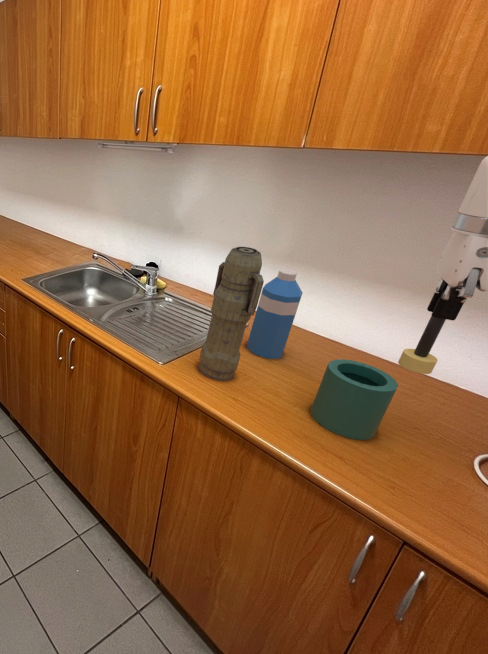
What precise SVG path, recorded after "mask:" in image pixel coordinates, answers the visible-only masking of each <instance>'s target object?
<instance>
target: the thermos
mask: <svg viewBox="0 0 488 654" xmlns="http://www.w3.org/2000/svg"><path fill="white" fill-rule="evenodd" d="M262 266H263V259H262V252H260V251H259V250H258V249H256V248H253V247H249V246H236V247H232V248H231V249H230V251H229V253H228V254H227V255H226V257H225V260H224V261H223V262H221V263H220V264H219V265H218V270H217V274H216V275H217V276H216V279H215V285H214V290H213V293H212V295H213V300H212V305H211V308H210V312H211V318H210V322H209V326H208V331H207V335H206V338H205V342H204V343H203V344H202V346H201V350H200V355H199V359H198V360H199V363H198V367H197V368H198V371H199V372H200V373H201V374H202V375H204V376H205V377H206V378H209V379H211V380H214V381H219V382H227V381H228V382H229V381H231V380H233V379H234V378H235V373H236V372H237V370H238V366H239V362H240V359H241V351H240V349H241V345H242V342H243V338H244V334H245V331H246V327H247V324H248V322H249V321H250V320H251V317H253V316H255V314H256V311H257V307H258V304H259V300H260V297H261V293H262V290H263V287H264V283H265V281H264V278H263V275H262V274H261V270H262Z"/></svg>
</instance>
